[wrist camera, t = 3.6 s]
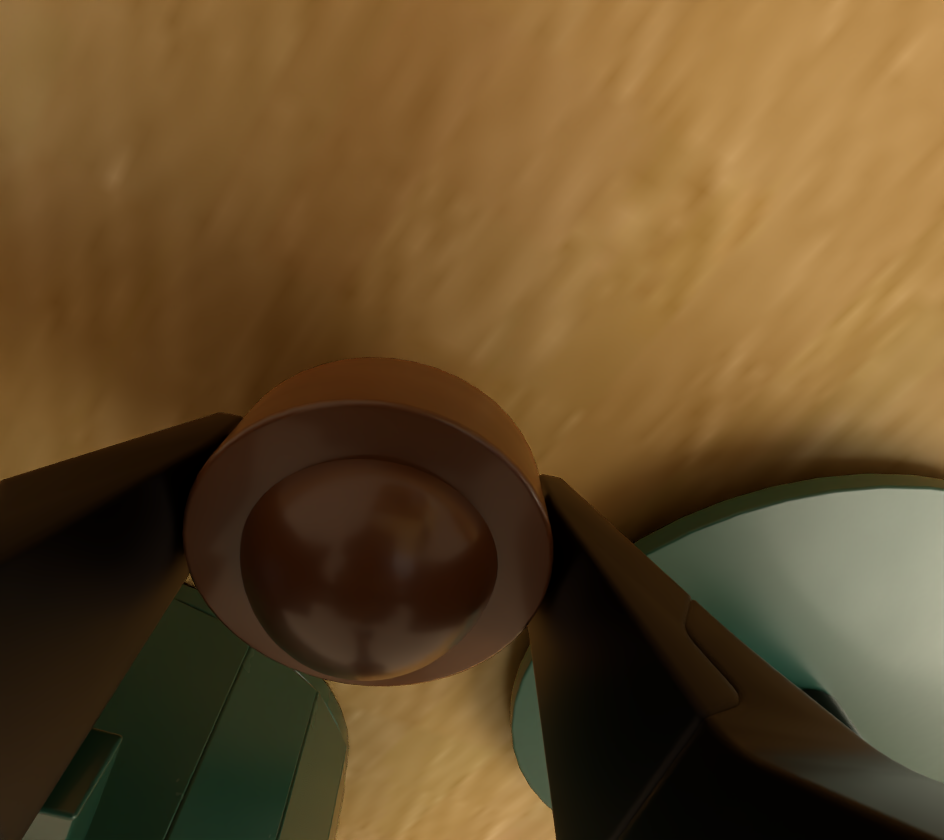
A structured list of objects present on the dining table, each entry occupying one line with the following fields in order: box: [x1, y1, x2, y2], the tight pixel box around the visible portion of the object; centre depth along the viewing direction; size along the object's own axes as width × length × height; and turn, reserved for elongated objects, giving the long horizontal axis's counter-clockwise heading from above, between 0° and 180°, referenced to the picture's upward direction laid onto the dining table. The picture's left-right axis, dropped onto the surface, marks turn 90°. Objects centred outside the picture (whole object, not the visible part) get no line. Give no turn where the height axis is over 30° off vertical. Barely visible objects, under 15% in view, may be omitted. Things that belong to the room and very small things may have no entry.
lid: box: [510, 474, 944, 809], centre depth 12 cm, size 14×14×5 cm
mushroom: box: [182, 357, 554, 686], centre depth 8 cm, size 5×5×5 cm
